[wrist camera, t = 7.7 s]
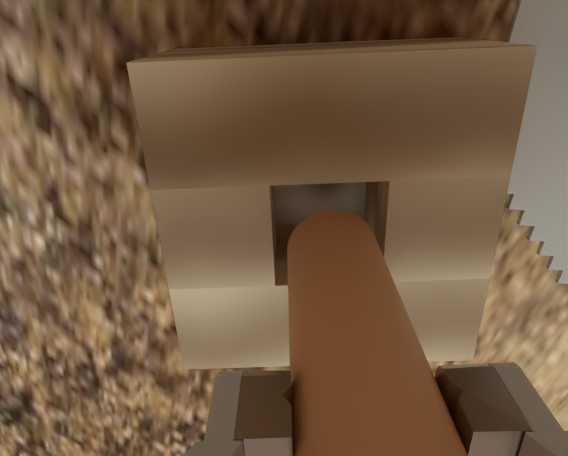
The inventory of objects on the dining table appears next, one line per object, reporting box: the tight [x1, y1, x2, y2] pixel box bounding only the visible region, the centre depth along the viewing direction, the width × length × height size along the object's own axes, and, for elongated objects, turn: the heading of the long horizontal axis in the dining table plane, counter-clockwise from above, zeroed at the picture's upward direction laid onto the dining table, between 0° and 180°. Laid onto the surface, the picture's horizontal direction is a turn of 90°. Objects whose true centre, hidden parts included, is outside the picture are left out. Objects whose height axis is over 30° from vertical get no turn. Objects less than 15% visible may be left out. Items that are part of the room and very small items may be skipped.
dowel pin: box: [287, 209, 468, 456], centre depth 9 cm, size 3×3×12 cm
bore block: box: [127, 37, 537, 369], centre depth 18 cm, size 12×12×6 cm
